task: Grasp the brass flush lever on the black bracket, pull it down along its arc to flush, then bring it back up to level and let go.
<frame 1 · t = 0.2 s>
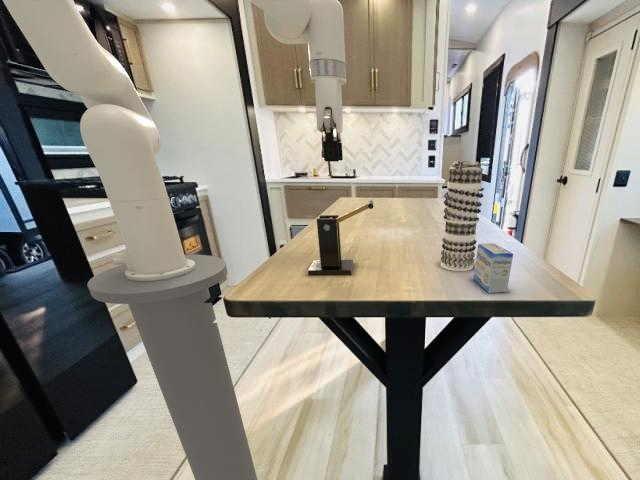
hand: (334, 160, 76), 25 cm above the table, tool pointing down, fingers open, 9 cm apart
medicine box: (489, 286, 71), on the table
lever bracket: (332, 269, 79), on the table
flush lever: (347, 215, 74), point 13 cm above the table, hinge at 25.0°
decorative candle: (456, 266, 83), on the table
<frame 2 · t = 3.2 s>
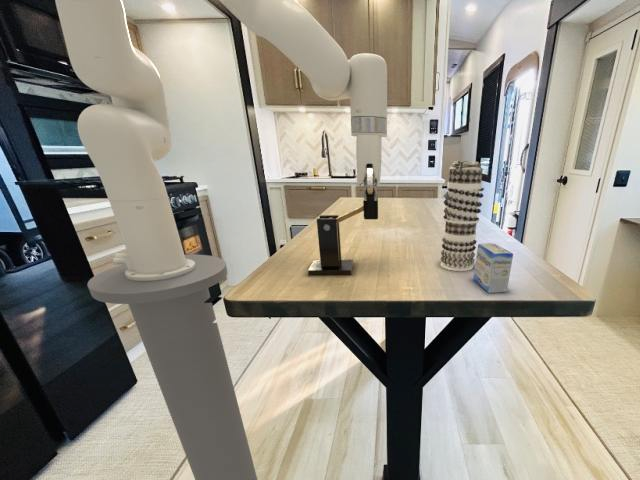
hand: (371, 215, 74), 13 cm above the table, tool pointing down, fingers closed on flush lever, 5 cm apart
flush lever: (347, 215, 74), point 13 cm above the table, hinge at 25.0°, touching gripper
everything else where it was.
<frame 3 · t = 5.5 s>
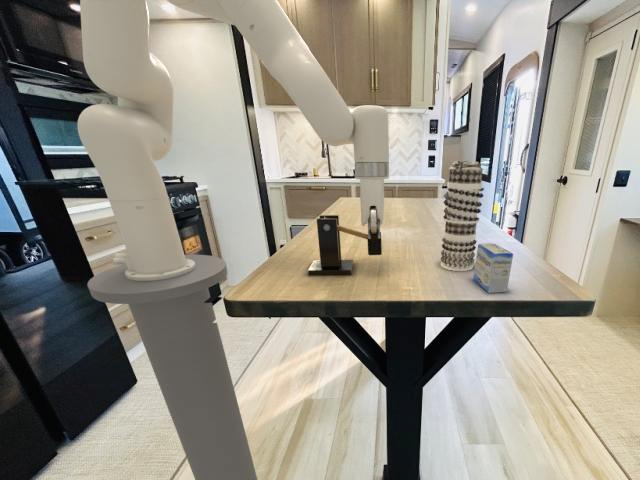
hand: (374, 250, 78), 5 cm above the table, tool pointing down, fingers closed on flush lever, 5 cm apart
flush lever: (349, 231, 76), point 9 cm above the table, hinge at -17.7°, touching gripper
everything else where it was.
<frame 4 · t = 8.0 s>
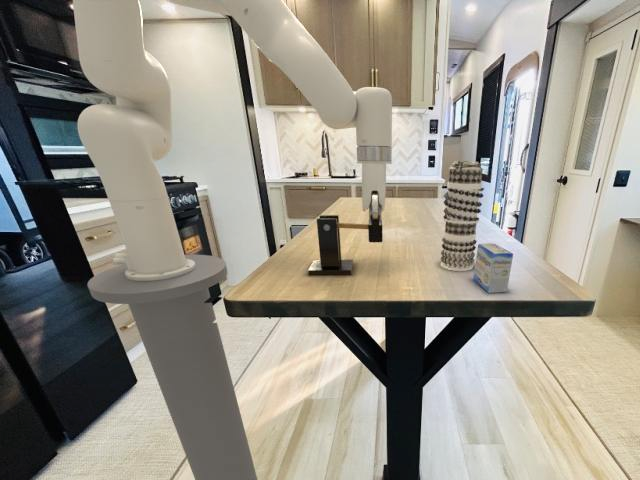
hand: (375, 238, 77), 8 cm above the table, tool pointing down, fingers closed on flush lever, 5 cm apart
flush lever: (350, 225, 75), point 11 cm above the table, hinge at -2.7°, touching gripper
everything else where it was.
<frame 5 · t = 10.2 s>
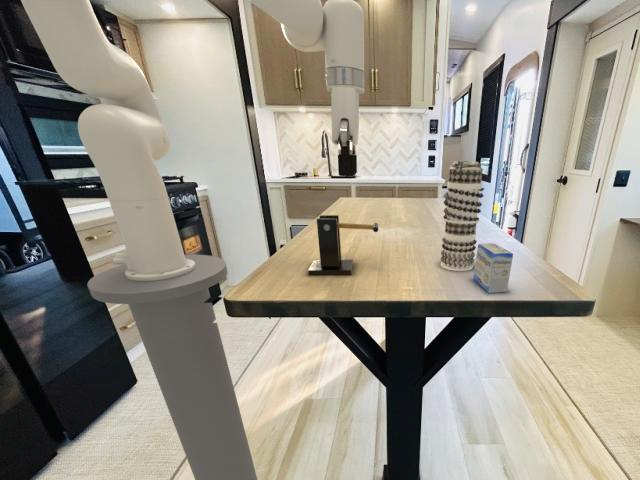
hand: (348, 174, 71), 22 cm above the table, tool pointing down, fingers open, 9 cm apart
flush lever: (350, 226, 75), point 11 cm above the table, hinge at -3.0°
everything else where it was.
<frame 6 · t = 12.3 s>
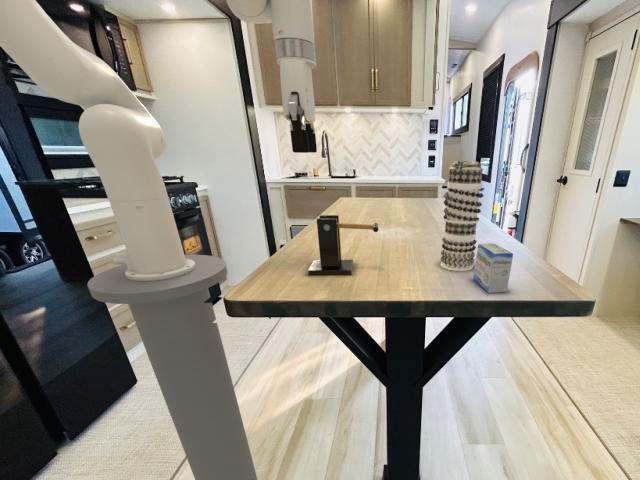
hand: (305, 152, 70), 26 cm above the table, tool pointing down, fingers open, 9 cm apart
nothing on the table moved.
at the end: flush lever reached -21° during the clip, -3° at the end; flush lever at -3° (first picture: +25°) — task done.
